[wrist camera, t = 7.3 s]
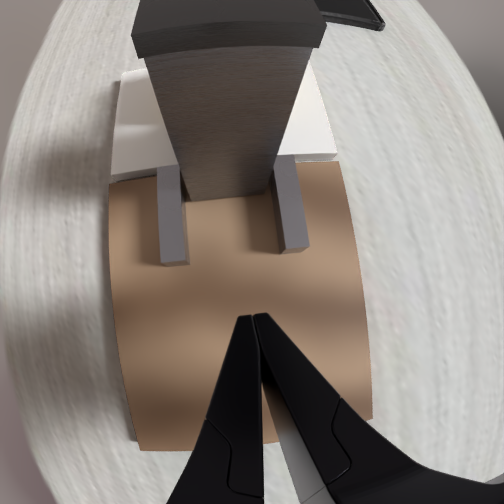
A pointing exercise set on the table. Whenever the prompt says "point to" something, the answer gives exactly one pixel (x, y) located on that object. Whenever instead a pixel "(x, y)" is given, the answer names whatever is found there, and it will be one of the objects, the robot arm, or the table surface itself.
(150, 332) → the door leaf
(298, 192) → the guide rails
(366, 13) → the phone
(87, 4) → the table surface
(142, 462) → the table surface
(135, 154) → the jamb plate
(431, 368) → the table surface
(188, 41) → the dark square pillar
